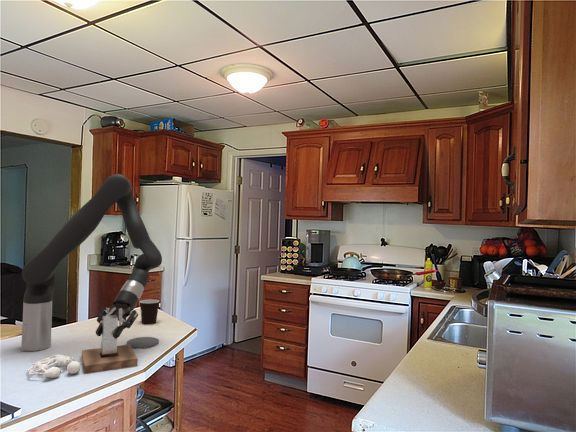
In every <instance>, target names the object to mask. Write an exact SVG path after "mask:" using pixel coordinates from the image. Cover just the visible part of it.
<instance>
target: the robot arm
mask: <svg viewBox="0 0 576 432" xmlns="http://www.w3.org/2000/svg"><path fill="white" fill-rule="evenodd" d="M115 204H116V205H117V206H118V209H119V210H120V213H121V215H122V219H123V222H124V223H123V224H124V226H125V230H126V232H127V236H128V237H129V239H130V243H131V244H132V247H133V248H134V249H137V250H140V251H141V252H142V254H140V255H139V256H138V257H137V258H136V260H135V261H134V264H133V266H132V270H131V273H130V274H129V276H128V278H127V280H126V281H125V283H124V284H123V285H122V286H121V289H120V290H119V292H118V293H117V295H116V296H115V299H114V301H113V305H111V306H110V307H106V306H103V307H102V308H101V309H100V312H99V314H98V317H96V318H97V319H96V322H97V323H98V324H99V325H98V327H96V331H95V335H96V336H97V337H102V317H103V316H110V315H117V317H118V327H117V328H116V330H115V332H114V334H113V337H114V338H115V339H117V340H118V338H120V336H121V335H122V332H123V330H125V329H130V328H131V327H132V326H133V324H134V322H135V321H136V319H138V316H139V314H138V313H139V312H138V311H136V310H135V308H136V306H137V304H138V302H140V301H139V300H140V299H141V297H142V295H143V292H144V290H145V288H146V286H147V284H148V283H149V280H150V275H149V272H150V271H151V270H153V269H156V268H159V267H160V266H161V265H162V262H163V256H162V253H161V251H160V250H159V249H158V247H157V246H156V245H155V243H154V242H153V241H152V239H151V238H150V234H149V232H148V231H147V227H146V225H145V223H144V221H143V219H142V217H141V215H140V212H139V209H138V207H137V204H136V201H135V197H134V192H133V188H132V183H131V181H130V180H129V179H128V178H127V177H126V176H124V175H122V174H120V173H118V174H117V173H116V174H112V175H110V176H108V177H107V178H106V179H105V180H104V181H103V183H102V185H101V186H100V187H99V189H98V190H97V191H96V192H95V193H94V194H93V196H92V197H91V198H90V199H89V200H88V201H87V202H86V203H84V205H82V207H81V208H79V210H77V211H76V212H75V213H74V214H73V215H72V216H71V217H70V218H69V219H68V220H67V221H66V222H65V223H64V224H63V226H62V227H61V228H60V229H59V231H57V233H56V234H55V235H54V237H53V238H52V239H51V240H50V241H49V242H48V243H47V245H46V246H45V247H44V248H43V249H41V251H40V252H39V253H37V254H36V255H35V256H34V257H33V258H31V259H30V260H29V261H28V262H26V263H25V264H24V266H23V268H22V271H21V276H22V279H23V281H24V282H25V283H26V286H25V287H26V289H25V291H24V295H23V304H22V324H21V343H20V345H21V346H20V347H21V348H20V349H21V350H20V351H21V352H35V351H37V352H38V351H42V350H45V349H48V348H50V347H51V346H52V324H53V323H52V321H53V319H52V318H53V296H54V292H55V282H56V281H55V280H56V268H57V267H58V266H59V264H60V263H61V262H62V261H63V260H64V259H65V258H66V257H67V256H68V255H70V254H71V253H72V252H73V251H74V250H77V248H79V246H81V245H82V244H83V243H84V242H85V241H86V240H87V239H88V238H89V236H91V235H92V233H94V231H95V230H96V229H97V228H98V226H99V224H100V223H101V221H102V220H103V219H104V216H105V215H106V213H107V212H108V211H109V209H110V208H112V207H113V205H115Z"/></svg>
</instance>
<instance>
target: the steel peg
mask: <svg viewBox="0 0 576 432" xmlns="http://www.w3.org/2000/svg"><path fill="white" fill-rule="evenodd" d="M118 326H119V321H118V317H117V315H110V316H103V317H102V334H101V346H100V348H101V352H102V355H104V354H112V353H117V346H118V338H117V339H115V338H114V337H113V334H114V332H115V330H116V328H117V327H118Z"/></svg>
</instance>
